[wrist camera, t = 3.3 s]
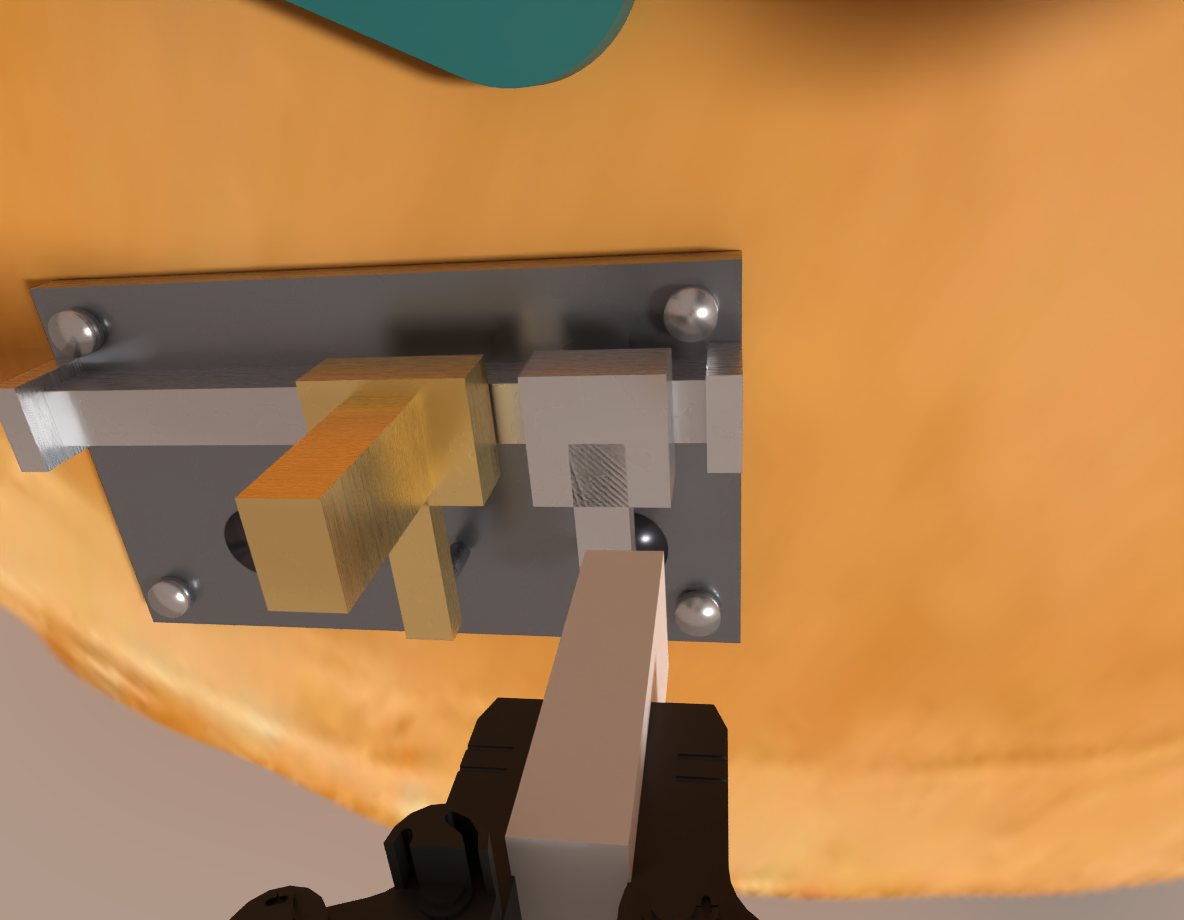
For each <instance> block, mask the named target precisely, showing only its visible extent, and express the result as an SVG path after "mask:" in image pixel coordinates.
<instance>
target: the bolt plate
mask: <svg viewBox="0 0 1184 920" xmlns="http://www.w3.org/2000/svg"><path fill="white" fill-rule="evenodd" d="M29 290H30V293H31V296H32V298H33V301H34V304H35V306H36V309H37V312H38V314H39V317H40V320H41V322H42V325H43V328H44V330H45V333H46V336H47V338H48V341H49V344H50V346H51V349H52V352H53V354H54V357H55V358H80V360H81V363H82V365H83V368H84V371H120V370H165V369H211V368H256V367H302V366H317V365H318V364H319V363H321V362H322V361H323V360H325V359H326V358H357V357H399V356H441V355H484V358H485V362H528V361H529V359H530V358H531V356H532V355H533V353H534V352H535V351H561V350H603V349H644V348H671V356H672V358H707V355H708V342H733V341H742V252H741V251H720V252H697V253H674V254H651V255H628V256H605V257H582V258H559V259H536V260H513V261H490V262H467V263H444V264H421V265H398V266H375V267H352V268H329V269H306V270H282V271H259V272H236V273H213V274H190V275H167V276H144V277H121V278H98V279H75V280H54V281H51V282H48V283H45V284H42V285H39V286H36V287H33V288H30V289H29ZM496 445H497V453H498V460H499V467H500V474H501V476H500V477H499V479H498V481H497V483H496V485H495V486H494V488H493V490H492V492H491V494H490V496H489V497H488V499H487V501H486V503H485V505H484V506H442V508H443V514H444V520H445V525H446V531H447V537H448V542H449V547H450V545H451V544H452V543H454V542H462V543H464V544H466V545H467V546H468V547H469V549H470V552H471V553H470V557H469V558H468V560H467V562H466V564H465V566H464V568H463V570H462V572H461V574H460V576H459V578H458V579H457V581H456V588H457V594H458V600H459V605H460V611H461V617H462V624H461V626H460V628H459V630H458V632H457V633H472V634H500V635H528V636H555V637H561V636H562V632H563V629H564V625H565V622H566V618H567V615H568V611H569V608H570V604H571V600H572V597H573V593H574V590H575V586H576V583H577V579H578V576H579V572H580V567H579V557H578V546H577V536H576V526H575V515H574V507H533V500H532V492H531V484H530V475H529V467H528V459H527V450H526V444H496ZM293 446H294V445H157V446H89V447H88V448H89V451H90V453H91V456H92V459H93V461H94V464H95V467H96V469H97V472H98V475H99V477H100V480H101V483H102V485H103V488H104V491H105V493H106V496H107V499H108V501H109V504H110V507H111V509H112V512H113V515H114V517H115V520H116V523H117V525H118V528H119V531H120V534H121V536H122V539H123V542H124V544H125V547H126V550H127V552H128V555H129V558H130V560H131V563H132V566H133V568H134V571H135V574H136V576H137V579H138V582H139V584H140V587H141V590H142V592H143V595H144V598H145V600H146V603H147V606H148V608H149V611H150V614H151V616H152V619H153V622H166V623H193V624H221V625H249V626H277V627H305V628H333V629H360V630H388V631H405V629H404V624H403V619H402V615H401V610H400V605H399V601H398V596H397V591H396V587H395V582H394V577H393V573H392V568H391V563H390V559H389V555H388V556H387V558H386V559H385V561H384V562H383V563H382V565H381V566H380V568H379V569H378V571H377V572H376V574H375V575H374V577H373V578H372V579H371V581H370V582H369V584H368V585H367V587H366V588H365V590H364V591H363V593H362V594H361V595H360V597H359V598H358V600H357V601H356V603H355V604H354V606H353V607H352V609H351V610H350V611H349V613H318V612H287V611H268V608H267V605H266V602H265V598H264V595H263V592H262V588H261V585H260V582H259V578H258V575H257V572H256V568H255V565H254V561H253V558H252V555H251V551H250V548H249V545H248V541H247V538H246V535H245V531H244V528H243V525H242V521H241V518H240V514H239V511H238V508H237V504H236V501H235V498H236V497H237V496H238V495H239V494H240V493H241V492H242V491H243V490H245V489H246V488H247V487H248V486H249V485H250V484H251V483H252V482H253V481H255V480H256V479H257V478H258V477H259V476H260V475H261V474H262V473H264V472H265V471H266V470H267V469H268V468H269V467H270V466H271V465H273V464H274V463H275V462H276V461H277V460H278V459H279V458H280V457H282V456H283V455H284V454H285V453H286V452H287V451H288V450H289V449H291V448H292V447H293ZM675 472H676V473H675V480H674V488H673V495H672V502H671V508H642V507H633V508H634V525H635V541H636V547H637V551H664V570H665V593H666V617H667V640H668V641H695V642H723V643H740V597H741V473H707V443H675Z"/></svg>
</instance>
